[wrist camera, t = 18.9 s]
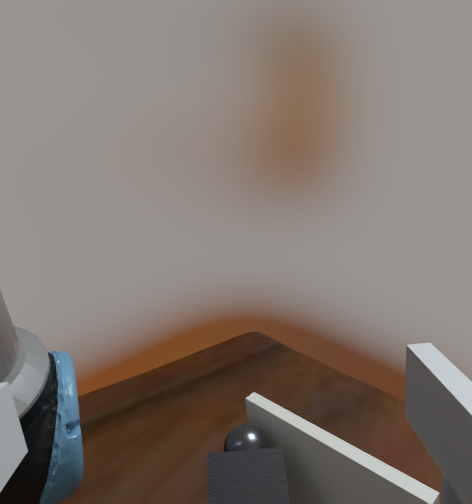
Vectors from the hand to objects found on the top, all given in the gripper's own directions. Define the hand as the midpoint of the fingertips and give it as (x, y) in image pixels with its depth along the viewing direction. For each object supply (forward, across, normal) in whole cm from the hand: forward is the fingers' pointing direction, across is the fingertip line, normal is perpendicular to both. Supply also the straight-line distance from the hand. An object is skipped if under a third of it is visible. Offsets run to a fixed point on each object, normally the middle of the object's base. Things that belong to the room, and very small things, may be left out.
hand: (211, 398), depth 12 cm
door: (+15, +7, -29) cm, 33 cm away
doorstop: (+2, 0, -25) cm, 25 cm away
